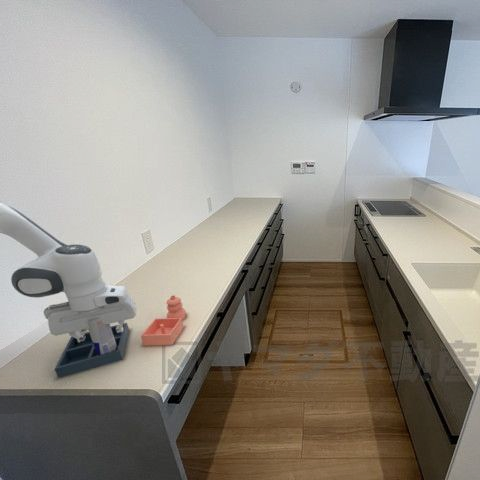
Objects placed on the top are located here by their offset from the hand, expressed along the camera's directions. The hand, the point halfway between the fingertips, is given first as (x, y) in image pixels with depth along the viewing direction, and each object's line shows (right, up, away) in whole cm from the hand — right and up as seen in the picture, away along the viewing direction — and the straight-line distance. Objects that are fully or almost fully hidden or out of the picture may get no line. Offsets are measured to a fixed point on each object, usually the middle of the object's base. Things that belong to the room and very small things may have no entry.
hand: (101, 336), depth 82 cm
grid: (-5, -7, +4) cm, 9 cm away
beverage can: (0, -7, +3) cm, 7 cm away
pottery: (+12, -3, +16) cm, 20 cm away
